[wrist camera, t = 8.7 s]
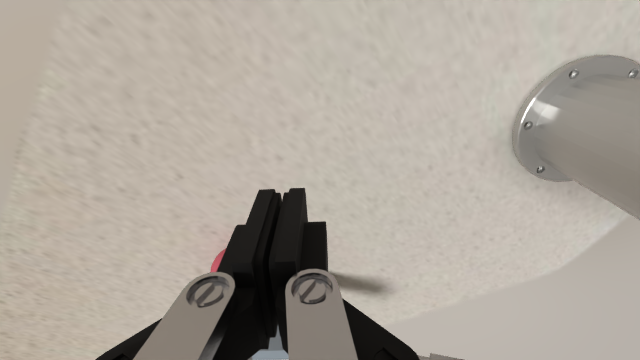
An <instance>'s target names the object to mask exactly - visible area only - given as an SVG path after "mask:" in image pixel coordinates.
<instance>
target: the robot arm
mask: <svg viewBox="0 0 640 360" xmlns="http://www.w3.org/2000/svg"><path fill="white" fill-rule="evenodd" d="M513 148H514V151H515V154H516V157H517V159H518V160H519V162H520V164H521V165H522V166H523V167H524V168H525V169H527V170H528V171H529V172H531V173H532V174H533V175H535V176H537V177H539V178H542V179H544V180H549V181H555V182H560V181H572V180H574V181H576V182H577V183H579V184H581V185H582V186H584V187H586V188H587V189H589V190H591V191H592V192H594V193H596V194H597V195H599V196H601V197H602V198H604V199H606V200H607V201H609V202H611V203H612V204H614V205H616V206H617V207H619V208H620V209H622V210H624V211H625V212H627V213H629V214H630V215H632V216H634V217H635V218H637V219H639V220H640V65H638V64H637V63H636V62H634V61H633V60H630V59H627V58H624V57H619V56H612V55H594V56H589V57H584V58H581V59H578V60H576V61H573V62H570V63H568V64H566V65H564V66H563V67H561V68H559V69H557V70H556V71H554V72H553V73H552V74H550V75H549V76H548V77H547V78H545V79H544V80H543V81H542V82H541V83H540V84H539V85H538V86H537V87H536V88H535V89H534V90H533V91H532V93H531V94H530V95H529V97H528V98H527V99H526V101H525V102H524V104H523V106H522V108H521V110H520V111H519V113H518V116H517V119H516V122H515V125H514V131H513ZM278 327H279V333H280V337H281V342H282V348H283V349H284V351H285V352H286V353H287V354H288V356H289V360H463V359H457V358H452V357H447V356H441V355H437V354H432V353H431V354H430V358H429V357H424V356H419V355H417V354H416V353H415V352H414V351H413V350H412V349H411V348H410V347H409V346H408V345H406V344H405V343H404V342H402V341H401V340H399V339H398V338H397V337H395V336H394V335H392V334H391V333H389V332H388V331H387V330H386V329H384V328H383V327H381V326H380V325H379V324H377V323H376V322H374V321H373V320H372V319H370V318H369V317H368V316H366V315H365V314H363V313H362V312H361V311H359V310H358V309H356V308H355V307H354V306H352V305H351V304H350V303H348V302H347V301H345V300H344V299H343V298H342V296H341V292H340V288H339V285H338V282H337V280H336V278H335V277H334V276H333V275H332V274H331V273H329V272H328V253H327V231H326V222H308V217H307V205H306V193H305V188H291V189H290V190H289V192H287V193H284V196H283V200H282V199H281V194H280V193H276V192H275V189H267V190H259V191H258V194H257V197H256V199H255V202H254V204H253V207H252V209H251V212H250V215H249V217H248V220H247V222H246V225H237V226H236V228H235V230H234V232H233V234H232V237H231V239H230V241H229V243H228V246H227V248H226V250H225V253H224V255H223V257H222V260H221V262H220V264H219V267H218V269H217V271H216V272H211V273H207V274H203V275H201V276H199V277H197V278H195V279H194V280H192V281H191V282H190V283H189V284H188V285H187V286H186V287H185V288H184V289H183V290H182V292H181V293H180V295H179V296H178V297H177V299H176V300H175V302H174V303H173V304H172V306H171V307H170V309H169V310H168V311H167V313H166V314H165V316H164V317H163V318H162V319H160V320H158V321H157V322H155V323H153V324H152V325H150V326H148V327H147V328H145V329H143V330H142V331H140V332H139V333H137V334H135V335H134V336H132V337H130V338H129V339H127V340H125V341H124V342H122V343H120V344H119V345H117V346H115V347H114V348H112V349H110V350H109V351H107V352H105V353H104V354H102V355H101V356H100V357H98V358H97V359H96V360H252V356H253V355H254V354H255V353H257V352H258V351H259V350H260V349H268V348H269V342H270V338H275V337H276V334H277V328H278Z"/></svg>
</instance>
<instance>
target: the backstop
mask: <svg viewBox="0 0 640 360" xmlns="http://www.w3.org/2000/svg"><path fill="white" fill-rule="evenodd" d="M279 359H289V356H288V354H287V353H286V352H285V351H284V349H283V348H282V342H281V337H280V333H279V327H278V328H277V334H276V337H275V338H270V342H269V348H268V349H260V350H259V351H258V352H257V353H255V354H254V355H253V356H252V360H279Z"/></svg>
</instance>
